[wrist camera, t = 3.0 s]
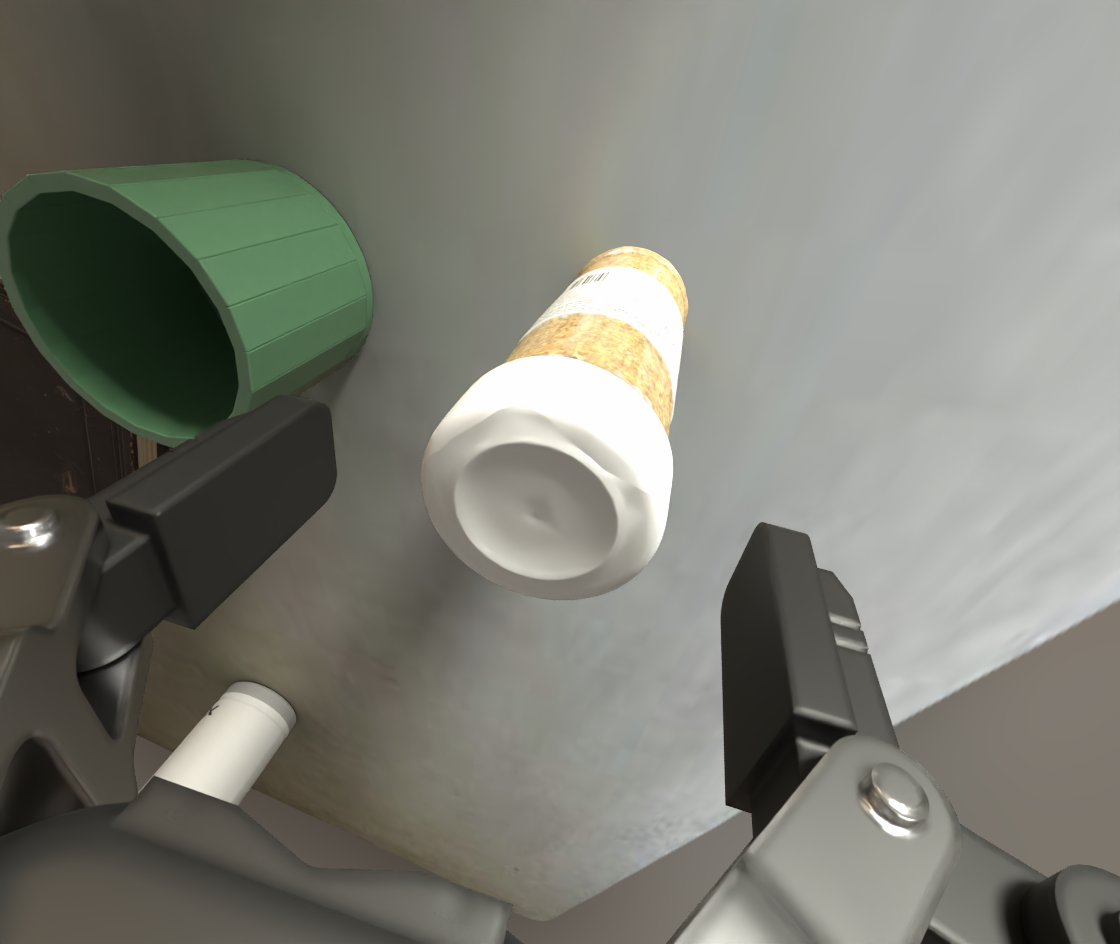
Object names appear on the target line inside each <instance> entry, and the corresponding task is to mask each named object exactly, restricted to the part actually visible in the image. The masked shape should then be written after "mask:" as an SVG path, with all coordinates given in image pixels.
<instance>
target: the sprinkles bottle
mask: <svg viewBox="0 0 1120 944" xmlns="http://www.w3.org/2000/svg"><path fill="white" fill-rule="evenodd" d="M687 311H688V300H687V296H686V289H685V286H684V284H683V281H682V279H681V277H680V275H679V273H678V272H677V271H676V270H675V268H674V267H673V266H672V264H671V263H670V262H669V261H668V260H666V259H664V258H663V257H661V256H660V255H658V254H657V253H655V252H652V251H650V250H647V249H644V248H637V247H619V248H617V249H613V250H609V251H607V252H605V253H603V254H600V255H598V256H596V257H595V258H594V259H592V260H591V261H590V262H589V263H588V264H587V265H586V266H585V267H584V268H583V269H582V270H581V272H580V273H579V274H578V276H577V278H576V280H575V281H574V282H573V283H572V284H570V285H569V286H568V287H567V288H566V290H565V291H564V292H563V293H562V294H561V295H560V296H559V297H558V299H557V300H556V301H555V302H554V303H553V304H552V305H551V306H550V307H549V308H548V309H547V310H546V311H545V312H544V313H543V314H542V316H541V317H540V318H539V319H538V320H537V321H536V323H535V324H534V325H533V326H532V327H531V328H530V329H529V331H528V332H527V333H526V334H525V335H524V336H523V337H522V339H521V340H520V341H519V342H518V344H517V345H516V347H515V349H514V351H513V352H512V353H511V355H510V356H509V357H508V359H507V360H506V361H505V363H504V364H503V365H501V366H499V367H497V368H494V369H493V370H491V371H490V372H488V373H486V374H485V375H483V376H482V377H481V378H480V379H479V380H477V381H476V382H475V383H474V384H473V385H472V386H471V387H470V388H469V389H468V391H467V392H466V393H465V394H464V395H463V396H462V397H461V398H460V399H459V401H458V402H457V403H456V404H455V405H454V406H453V408H452V409H451V410H450V411H449V412H448V414H447V415H446V416H445V417H444V419H443V420H442V421H441V423H440V424H439V425H438V427H437V428H436V430H435V431H434V433H433V434H432V436H431V438H430V440H429V442H428V444H427V447H426V450H425V453H424V457H423V463H422V468H421V487H422V494H423V498H424V502H425V506H426V509H427V512H428V514H429V517H430V519H431V521H432V523H433V525H434V527H435V529H436V530H437V532H438V533H439V535H440V536H441V538H442V539H443V541H444V542H445V543H446V544H447V546H448V547H449V548H450V549H451V550H452V552H453V553H454V554H455V555H456V556H457V557H458V558H459V559H460V560H461V561H462V562H464V563H465V564H466V565H467V566H469V567H470V568H471V569H473V570H474V571H475V572H476V573H478V574H480V575H481V576H483V577H484V578H486V579H488V580H489V581H491V582H493V583H495V584H497V585H499V586H501V587H504V588H506V589H509V590H511V591H514V592H517V593H520V594H523V595H527V596H532V597H537V598H542V599H550V600H577V599H584V598H589V597H594V596H598V595H601V594H604V593H607V592H610V591H612V590H614V589H617V588H618V587H620V586H622V585H624V584H625V583H627V582H628V581H630V580H631V579H632V578H634V577H635V576H636V575H637V574H638V573H640V572H641V571H642V570H643V568H644V567H645V566H646V565H647V564H648V563H649V562H650V560H651V559H652V557H653V555H654V554H655V552H656V550H657V549H658V547H659V544H660V542H661V540H662V537H663V533H664V529H665V525H666V520H667V514H668V507H669V499H670V491H671V483H672V472H673V462H672V453H671V449H670V444H669V441H668V433H669V425H670V423H671V420H672V417H673V411H674V404H675V397H676V389H677V381H678V374H679V367H680V360H681V350H682V341H683V329H684V326H685V323H686V316H687Z"/></svg>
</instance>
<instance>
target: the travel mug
mask: <svg viewBox="0 0 1120 944" xmlns="http://www.w3.org/2000/svg"><path fill="white" fill-rule="evenodd" d="M295 724H296V715H295V712H294V710H293V708H292V707H291V705H290V704H289V703H288V702H287V701H286V700H285V699H284V698H283V697H281V696H280V695H279V694H277V693H276V692H274V691H273V690H271V689H269V688H267V687H265V686H262V685H260V684H257V683H253V682H237V683H234V684H232V685H231V686H230V687H229V688H228V689H227V691H226V692H225V693H224V694H223V695H222V696H221V698H220V699H219V701H218V702H216V703H215V704H214V706H213V707H212V708H211V709H210V710H209V711H208V713H207V714H206V715H205V716H204V717H203V718H202V720H201V721H200V722H199V723H198V724H197V725H196V726H195V728H194V729H193V730H192V731H191V732H190V733H189V735H188V736H187V737H186V738H185V739H184V740H183V742H182V743H181V744H180V745H179V746H178V747H177V748H176V750H175V751H174V752H173V753H172V754H171V756H170V757H169V758H168V759H167V760H166V761H165V762H164V763H163V765H162V766H161V767H160V768H159V769H158V770H157V772H156V773H155V774H154V775H153V776H157V777H160V778H163V779H165V780H168V781H171V782H174V783H177V784H179V785H182V786H185V787H188V788H190V789H193V790H196V791H199V792H202V793H204V794H207V795H210V796H213V797H215V798H218V799H221V800H224V801H227V802H229V803H232V804H235V805H237V806H239V804H240V803H241V801H242V800H243V798H244V797H245V795H246V794H247V793H248V791H249V790H250V788H251V787H252V786H253V784H254V783H255V781H256V780H257V778H258V777H259V776H260V774H261V773H262V771H263V770H264V768H265V767H266V766H267V764H268V763H269V761H270V760H271V758H272V757H273V756H274V754H275V753H276V751H277V750H278V748H279V747H280V746H281V744H282V742H283V740H284V739H285V738H286V737H287V736H288V734H289V733H290V731H291V730H292V728H293V727H294V726H295ZM153 776H152V777H153ZM152 777H151V778H152ZM149 781H150V780H149ZM149 781H148V782H149ZM148 782H147V783H148ZM147 783H146V784H147ZM146 784H145V785H146ZM143 788H144V787H143ZM143 788H142V789H143ZM142 789H141V790H142ZM141 790H140V791H141ZM140 791H139V792H140ZM139 792H138V793H139Z"/></svg>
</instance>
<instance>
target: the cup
mask: <svg viewBox="0 0 1120 944" xmlns="http://www.w3.org/2000/svg"><path fill="white" fill-rule="evenodd" d="M0 277H1V279H2V282H3V285H4V287H5V290H6V293H7V295H8V298H9V301H10V303H11V306H12V308H13V310H14V312H15V313H16V315H17V317H18V318H19V320H20V322H21V323H22V325H23V327H24V328H25V330H26V331H27V333H28V335H29V336H30V338H31V340H32V341H33V343H34V345H35V346H36V348H38V350H39V352H40V353H41V354H42V355H43V356H44V358H45V359H46V360H47V361H48V362H49V363H50V365H51V366H52V367H53V368H54V369H55V370H56V372H57V373H58V374H59V375H60V376H61V377H62V379H63V380H64V381H65V382H66V383H67V384H69V386H70V387H71V388H72V389H73V390H74V391H76V392H77V393H78V394H79V395H80V396H81V397H83V398H84V399H85V400H86V401H87V402H88V403H90V404H91V405H92V406H93V407H94V408H95V409H96V410H98V411H99V412H100V413H102V414H103V415H104V416H105V417H107V418H109V419H110V420H112V421H114V422H115V423H117V424H119V425H120V426H122V427H124V428H125V429H127V430H129V431H130V432H132V433H133V434H135V435H138V436H140V437H143V438H145V439H148V440H151V441H154V442H157V443H159V444H162V445H165V446H168V447H172V448H175V447H176V446H178V445H180V444H181V443H183V442H185V441H187V440H188V439H192V440H193V439H194V436H195V435H197V434H198V433H200V432H202V431H204V430H205V429H207V428H209V427H210V426H212V425H214V424H215V423H217V422H219V421H222V420H225V419H228V418H231V417H235V416H238V415H241V414H244V413H247V412H251V411H253V410H254V409H256V408H258V407H259V406H261V405H263V404H264V403H266V402H267V401H269V400H271V399H272V398H274V397H276V396H278V395H280V394H289V395H293V396H299V395H300V394H302V393H303V392H305V391H306V390H308V389H309V388H311V387H312V386H314V385H316V384H317V383H319V382H320V381H322V380H323V379H325V378H326V377H328V376H329V375H331V374H333V373H334V372H336V371H337V370H339V369H340V368H341V367H342V366H343V365H344V364H346V363H347V362H349V361H350V360H351V359H352V358H353V357H354V356H355V355H356V354H357V353H358V352H359V351H360V349H361V348H362V346H363V345H364V343H365V341H366V338H367V336H368V334H369V330H370V327H371V323H372V316H373V292H372V284H371V279H370V275H369V271H368V267H367V265H366V262H365V259H364V256H363V253H362V251H361V249H360V247H359V245H358V243H357V240H356V239H355V237H354V235H353V233H352V232H351V230H350V228H349V227H348V225H347V224H346V222H345V221H344V220H343V218H342V217H341V215H340V214H339V213H338V211H337V210H336V209H335V208H334V207H333V206H332V205H331V203H330V202H329V201H328V200H327V199H326V198H325V197H324V196H323V195H322V194H321V193H320V192H318V191H317V190H316V189H315V188H314V187H313V186H311V185H310V184H309V183H307V182H306V181H305V180H303V179H302V178H300V177H299V176H297V175H295V174H293V173H292V172H290V171H288V170H286V169H284V168H282V167H279V166H277V165H274V164H271V163H267V162H264V161H259V160H249V159H245V160H244V159H236V160H221V161H205V162H190V163H174V164H158V165H143V166H127V167H112V168H96V169H81V170H65V171H54V172H42V173H31V174H29V175H26V176H25V177H24V178H22V179H21V180H20V181H19V182H17V183H16V184H15V185H14V186H12V187H11V188H10V189H9V190H7V191H6V192H5V193H4V195H3V196H2V198H1V201H0Z"/></svg>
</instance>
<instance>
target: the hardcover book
mask: <svg viewBox="0 0 1120 944" xmlns="http://www.w3.org/2000/svg"><path fill="white" fill-rule="evenodd" d="M166 452H168V446H165V445H162V444H159V443H157V442H154V441H151V440H148V439H145V438H143V437H140V436H138V435H135V434H133V433H132V432H130V431H129V430H127V429H125V428H124V427H122V426H120V425H119V424H117V423H115V422H114V421H112V420H110V419H109V418H107V417H105V416H104V415H103V414H102V413H100V412H99V411H98V410H96V409H95V408H94V407H93V406H92V405H91V404H90V403H88V402H87V401H86V400H85V399H84V398H83V397H81V396H80V395H79V394H78V393H77V392H76V391H74V390H73V389H72V388H71V387H70V386H69V384H67V383H66V382H65V381H64V380H63V379H62V377H61V376H60V375H59V374H58V373H57V372H56V370H55V369H54V368H53V367H52V366H51V365H50V363H49V362H48V361H47V360H46V359H45V358H44V356H43V355H42V354H41V353H40V352H39V350H38V348H36V346H35V345H34V343H33V341H32V340H31V338H30V336H29V335H28V333H27V331H26V330H25V328H24V327H23V325H22V323H21V322H20V320H19V318H18V317H17V315H16V313H15V312H14V310H13V308H12V306H11V303H10V301H9V298H8V295H7V293H6V290H5V287H4V285H3V282H2V279H1V277H0V506H1V505H4V504H7V503H10V502H13V501H17V500H20V499H25V498H30V497H35V496H42V495H55V494H59V495H73V496H78V497H81V498H84V499H88V498H90V497H92V496H93V495H95V494H97V493H98V492H100V491H102V490H103V489H105V488H107V487H108V486H110V485H112V484H114V483H115V482H117V481H119V480H120V479H122V478H124V477H125V476H127V475H129V474H131V473H132V472H134V471H136V470H137V469H139V468H141V467H142V466H144V465H146V464H148V463H149V462H151V461H153V460H154V459H156V458H158V457H159V456H161V455H163V454H165V453H166Z"/></svg>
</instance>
